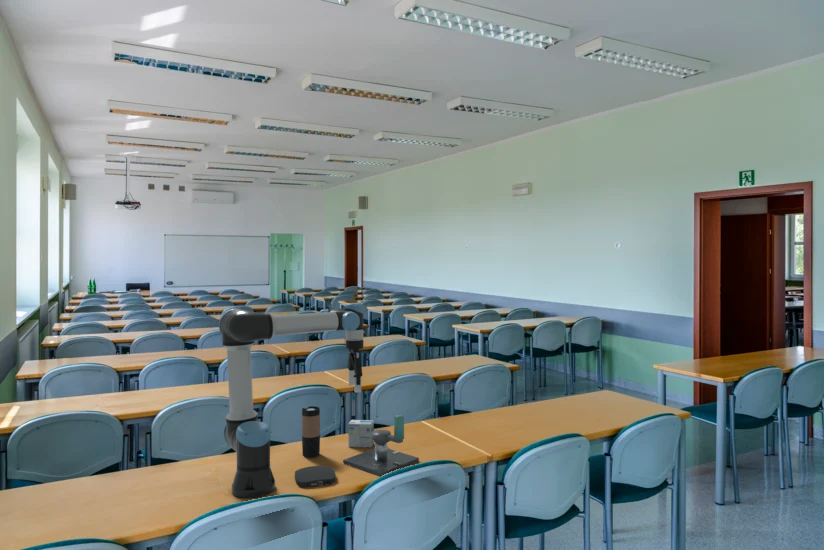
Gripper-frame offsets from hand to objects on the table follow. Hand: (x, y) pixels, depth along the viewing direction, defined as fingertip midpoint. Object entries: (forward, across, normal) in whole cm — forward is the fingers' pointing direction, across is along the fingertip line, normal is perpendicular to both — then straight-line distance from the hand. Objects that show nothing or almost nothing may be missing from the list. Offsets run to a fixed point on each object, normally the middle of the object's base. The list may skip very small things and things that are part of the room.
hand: (354, 388), depth 239 cm
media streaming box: (+29, -22, +20) cm, 41 cm away
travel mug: (+28, +5, +18) cm, 34 cm away
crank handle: (+19, -16, -11) cm, 27 cm away
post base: (+28, -12, -8) cm, 32 cm away
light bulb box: (+29, +12, -5) cm, 31 cm away
